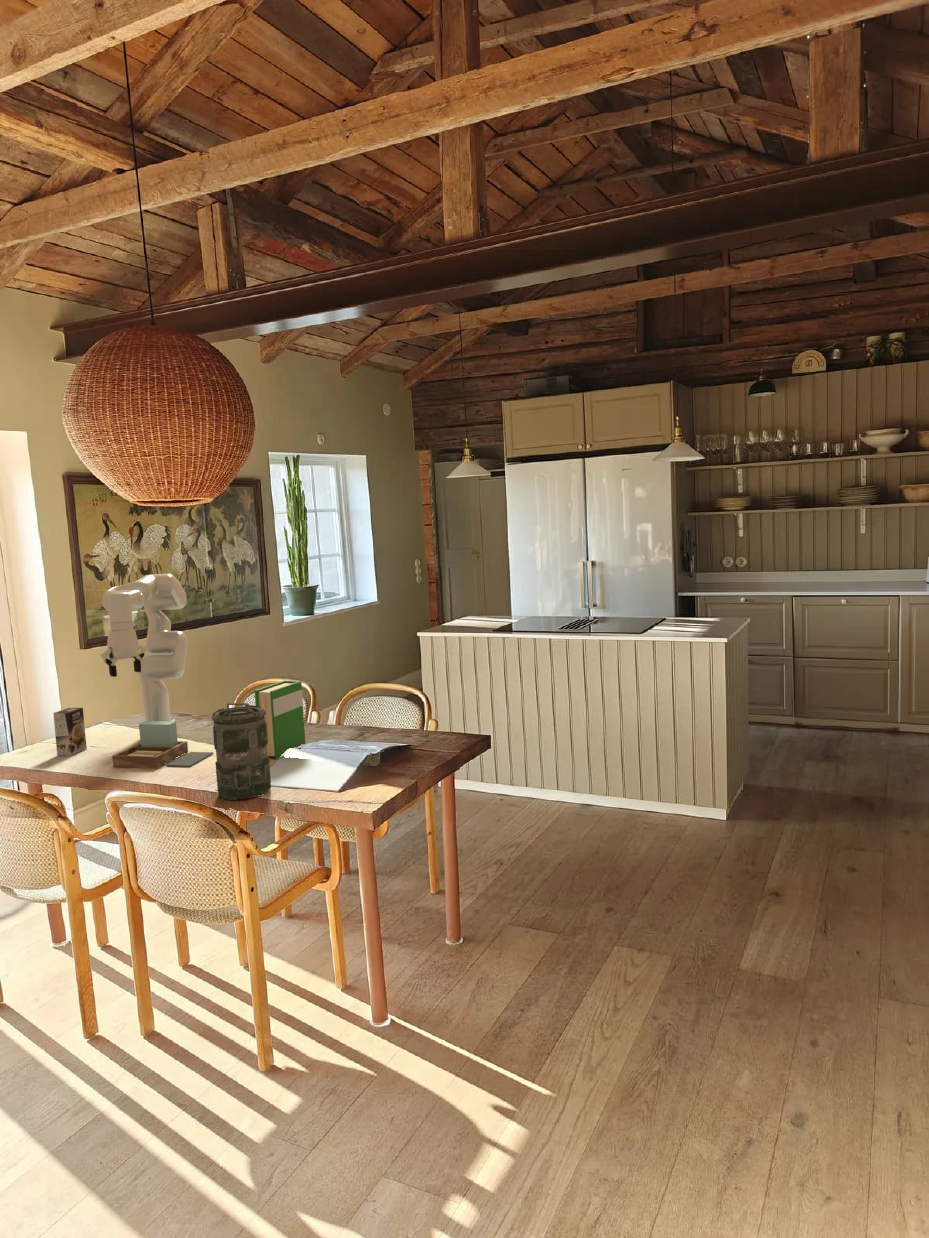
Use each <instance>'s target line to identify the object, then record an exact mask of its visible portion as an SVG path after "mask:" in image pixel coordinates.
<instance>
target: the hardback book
mask: <svg viewBox="0 0 929 1238" xmlns="http://www.w3.org/2000/svg"><path fill="white" fill-rule="evenodd" d="M254 700H255V701H254V703H255V706H260V707H261V709H264V710H265V712H266V714H265V721H266V722H267V737H268V744H267V756H268V757H274V756H275V757H274V759H275V758H279V757H280V756H281V754H283V753H284V752H285V751H286V750H287V749H289V748H294V747H298V746H300V745H301V744H306V734H305V733H306V732H305V718H304V717H305V715H304V702H303V701H304V700H303V687H302V681H301V680H286V679H285V680H282V681H279V682H275V683H273V684H269V685H267V686H264V687H260V688H257V689H255V690H254ZM279 759H280V758H279Z"/></svg>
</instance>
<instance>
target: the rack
mask: <svg viewBox="0 0 929 1238" xmlns="http://www.w3.org/2000/svg"><path fill="white" fill-rule="evenodd" d="M188 747H189V744H188V741H187V740H186V741H184V740H181V741H179V740H178V745H177V746H175V747H141V742H140V743H137V744H135V745H133V746H131V747H129V748H126V749H125V750H122V751H119V752H118V753H115V754H113V755H112V756H111V759H112V768H120V767H121V768H122V769H123V768H127V769H130V768H131V769H156V770H157V769H159V768H161V767H164V764H165V763H167V764H169V763H170V762H169V761H171V760H172V761H175V760H176V759H177V758H176V757H178V756H180V757H182V756H183V755H182V754H184V753H186V754H188V753H189V748H188ZM136 751H163V753H161V754H159V755H157V756H127V755H129V754H131V753H134V752H136ZM187 752H188V753H187ZM181 755H182V756H181ZM184 755H185V754H184ZM175 758H176V759H175ZM178 758H179V757H178ZM172 761H171V762H172ZM168 762H169V763H168ZM165 765H166V764H165ZM158 767H159V768H158Z"/></svg>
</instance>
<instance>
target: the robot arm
mask: <svg viewBox="0 0 929 1238" xmlns="http://www.w3.org/2000/svg"><path fill="white" fill-rule="evenodd" d="M187 597H188V596H187V593H186V592H185V589H184V588H183V586H182V585H181V583H180V581H179V580H178V579H177V577H176V576H175V575H173V574H171V573H154V574H153V573H152V574H146V575H143V576H142V577H140V578H139V579H137V580H136V581H132V582H128V583H126V584H120V585H116V586H114V587H111V588H109V589H107V590H106V591H105V592H104V593H103V595H102V599H101V600H102V601H101V603H102V605H103V608H104V609H105V610H106V611H107V612H108V614H109V615H108V616H109V617H108V618H109V626H110V631H108V634H107V643H106V645H107V647H106V648H107V650H105V651H104V652H102V653H101V654H100V657H101V658H102V660H103V662H104V663H105V664H106V665H107V666H108V670H109V673H108V674H109V676H110V677H113V678H117V676H118V671H117V666H116V662H117V661H118V660H125V659H130V658H132V659H133V670H134V672H135V673H138V675H139V680H140V684H141V690H142V702H143V713H144V722H145V721H173V722H176V723H177V720H176V719H174V718H173V719H171V708H170V698H169V688H168V687H167V685H166V684H165V682H164V681H163V680H173V679H179V678H180V679H181V678H182V677H183V675H184V673H185V669H186V663H187V662H186V661H187V655H188V647H189V643H188V637H187V635H186V634H185V632H184V631H179V630H171V628H172V622H171V620H170V618H169V617H168V616H167V615H166V614H165V613H164V612H163V611H165V610H166V611H167V610H169V611H170V610H181V609H183V608H185V606H186V605H187V600H188V598H187ZM142 608H143V610H144V612H145V615H146V616H147V619H148V628H147V633H146V634H147V635H146V640H145V647H144V646H142V645H140V644H139V640H138V636H137V632H136V630H135V629H134V627H135V626H136V625H137V624H136V622H135V621H133V612H135V611H139V610H141V609H142ZM145 653H147V654H149V655H146V656H145Z"/></svg>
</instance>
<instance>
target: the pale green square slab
mask: <svg viewBox="0 0 929 1238" xmlns="http://www.w3.org/2000/svg"><path fill="white" fill-rule="evenodd" d="M138 728H139V729H138V730H139V741H140V743H141V747H175V746H177V745H178V741H179V740H178V731H177V721H176V722H173V721H145V720H144V721H143V722H141V723H138Z"/></svg>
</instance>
